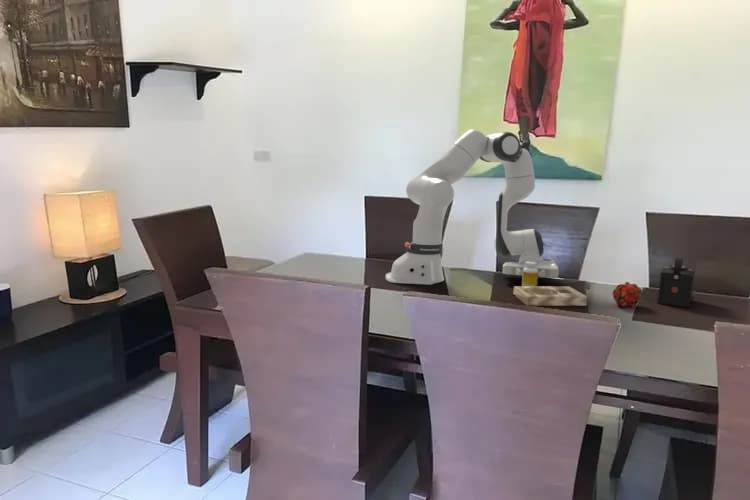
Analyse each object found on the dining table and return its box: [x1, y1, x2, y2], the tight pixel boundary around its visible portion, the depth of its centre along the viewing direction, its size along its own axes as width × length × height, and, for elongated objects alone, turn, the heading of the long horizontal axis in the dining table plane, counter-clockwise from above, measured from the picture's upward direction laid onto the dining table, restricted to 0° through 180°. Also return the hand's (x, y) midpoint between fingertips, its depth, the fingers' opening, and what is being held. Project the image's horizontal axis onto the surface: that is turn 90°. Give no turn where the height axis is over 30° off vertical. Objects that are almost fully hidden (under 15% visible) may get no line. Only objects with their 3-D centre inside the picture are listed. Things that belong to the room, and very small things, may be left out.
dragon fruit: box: [612, 281, 643, 308], centre depth 185 cm, size 8×8×12 cm
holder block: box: [512, 285, 588, 307], centre depth 191 cm, size 20×14×3 cm
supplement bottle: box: [521, 262, 539, 286], centre depth 206 cm, size 5×5×10 cm
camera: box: [657, 257, 696, 308], centre depth 192 cm, size 11×14×15 cm
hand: (530, 274), depth 205 cm, fingers closed on supplement bottle, 5 cm apart
